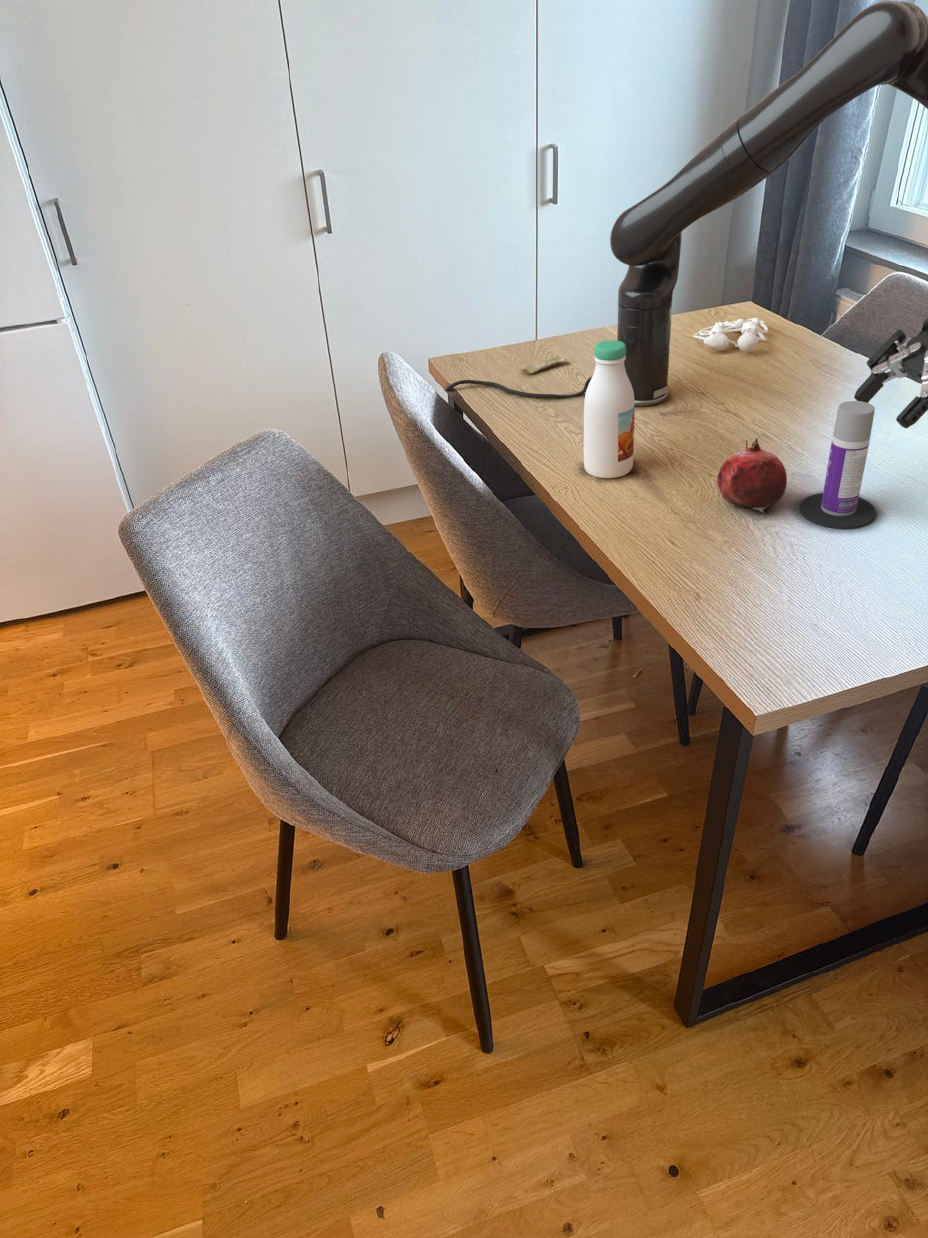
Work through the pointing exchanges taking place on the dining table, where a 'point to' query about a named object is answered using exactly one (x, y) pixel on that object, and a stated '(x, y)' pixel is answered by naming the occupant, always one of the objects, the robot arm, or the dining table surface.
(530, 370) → the snack bar
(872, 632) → the dining table surface
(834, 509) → the container
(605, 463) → the milk bottle
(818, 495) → the coaster
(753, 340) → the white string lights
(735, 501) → the fruit
